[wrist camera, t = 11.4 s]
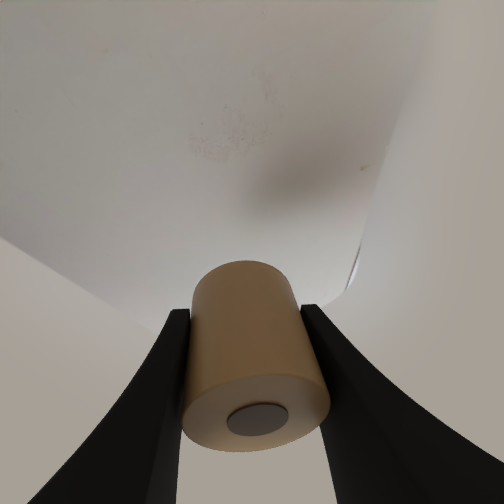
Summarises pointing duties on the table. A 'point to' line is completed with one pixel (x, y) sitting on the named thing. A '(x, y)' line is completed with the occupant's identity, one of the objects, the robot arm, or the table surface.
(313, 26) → the table surface
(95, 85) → the table surface
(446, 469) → the robot arm
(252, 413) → the paper towel roll
